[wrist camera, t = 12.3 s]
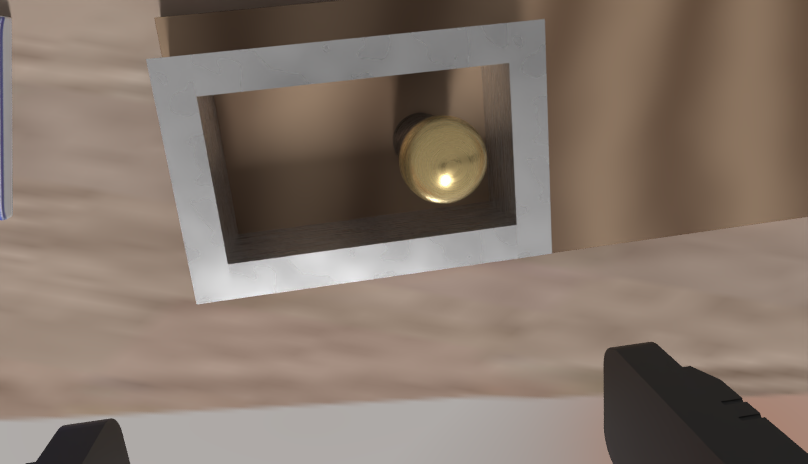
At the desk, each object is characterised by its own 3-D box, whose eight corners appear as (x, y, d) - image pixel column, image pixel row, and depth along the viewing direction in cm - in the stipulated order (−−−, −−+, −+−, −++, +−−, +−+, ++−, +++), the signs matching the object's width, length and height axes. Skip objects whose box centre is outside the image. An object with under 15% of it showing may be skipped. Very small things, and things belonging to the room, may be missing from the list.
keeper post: (453, 99, 28) (495, 115, 22) (459, 172, 29) (500, 207, 23) (379, 107, 27) (401, 126, 21) (387, 181, 28) (410, 219, 22)
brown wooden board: (872, -48, 30) (895, -52, 29) (845, 202, 33) (864, 208, 32) (160, 18, 26) (154, 17, 25) (214, 291, 30) (210, 301, 29)
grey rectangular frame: (511, 22, 27) (544, 19, 23) (520, 226, 30) (551, 253, 26) (169, 56, 26) (146, 59, 22) (211, 269, 28) (196, 304, 24)
